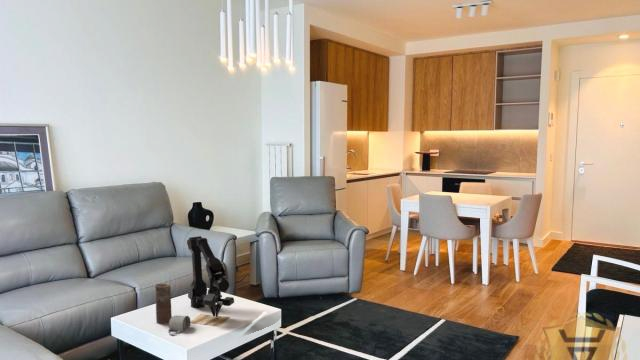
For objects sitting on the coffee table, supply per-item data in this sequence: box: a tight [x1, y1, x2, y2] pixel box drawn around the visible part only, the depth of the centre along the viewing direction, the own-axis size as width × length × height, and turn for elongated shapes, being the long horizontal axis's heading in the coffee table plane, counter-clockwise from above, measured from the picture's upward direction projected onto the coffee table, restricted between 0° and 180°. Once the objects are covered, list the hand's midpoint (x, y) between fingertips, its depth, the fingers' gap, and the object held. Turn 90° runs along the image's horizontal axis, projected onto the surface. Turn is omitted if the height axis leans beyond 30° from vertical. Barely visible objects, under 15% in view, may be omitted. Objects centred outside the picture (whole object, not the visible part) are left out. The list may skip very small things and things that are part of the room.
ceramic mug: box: [167, 315, 192, 337], centre depth 227 cm, size 11×8×8 cm
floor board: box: [202, 315, 232, 327], centre depth 239 cm, size 9×13×1 cm
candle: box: [154, 283, 173, 325], centre depth 238 cm, size 8×7×20 cm
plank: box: [190, 313, 213, 325], centre depth 241 cm, size 7×12×1 cm, turn 165°
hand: (215, 316), depth 242 cm, fingers closed
